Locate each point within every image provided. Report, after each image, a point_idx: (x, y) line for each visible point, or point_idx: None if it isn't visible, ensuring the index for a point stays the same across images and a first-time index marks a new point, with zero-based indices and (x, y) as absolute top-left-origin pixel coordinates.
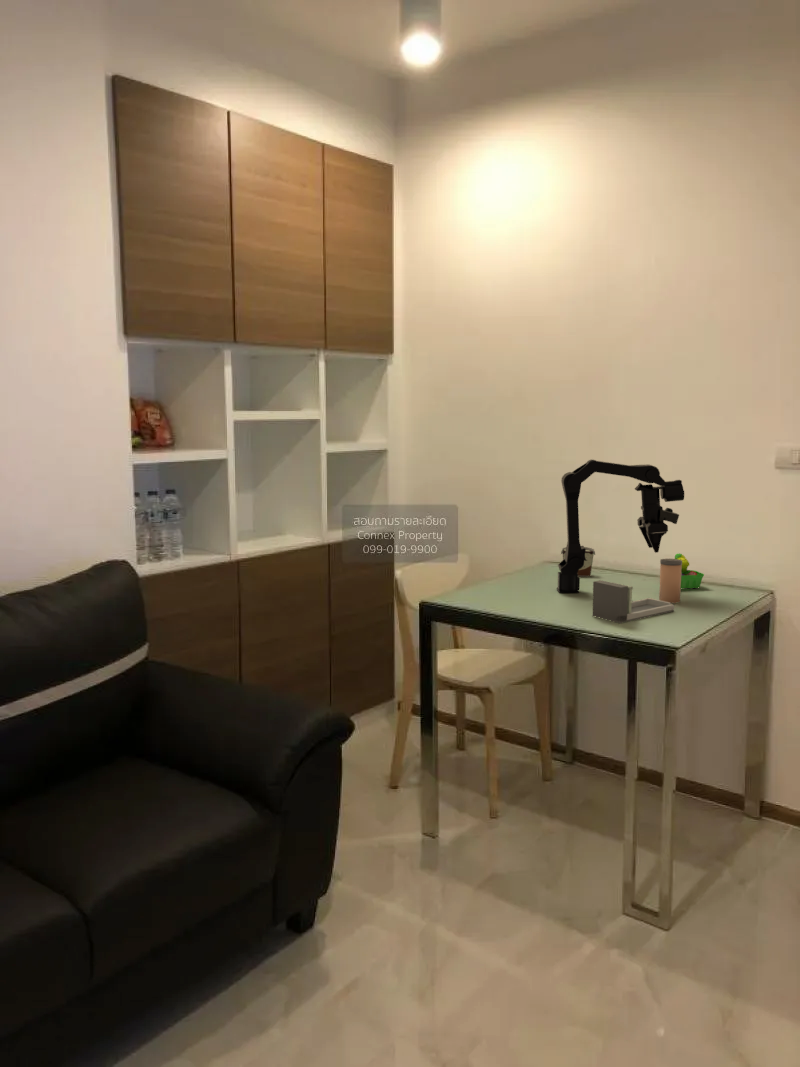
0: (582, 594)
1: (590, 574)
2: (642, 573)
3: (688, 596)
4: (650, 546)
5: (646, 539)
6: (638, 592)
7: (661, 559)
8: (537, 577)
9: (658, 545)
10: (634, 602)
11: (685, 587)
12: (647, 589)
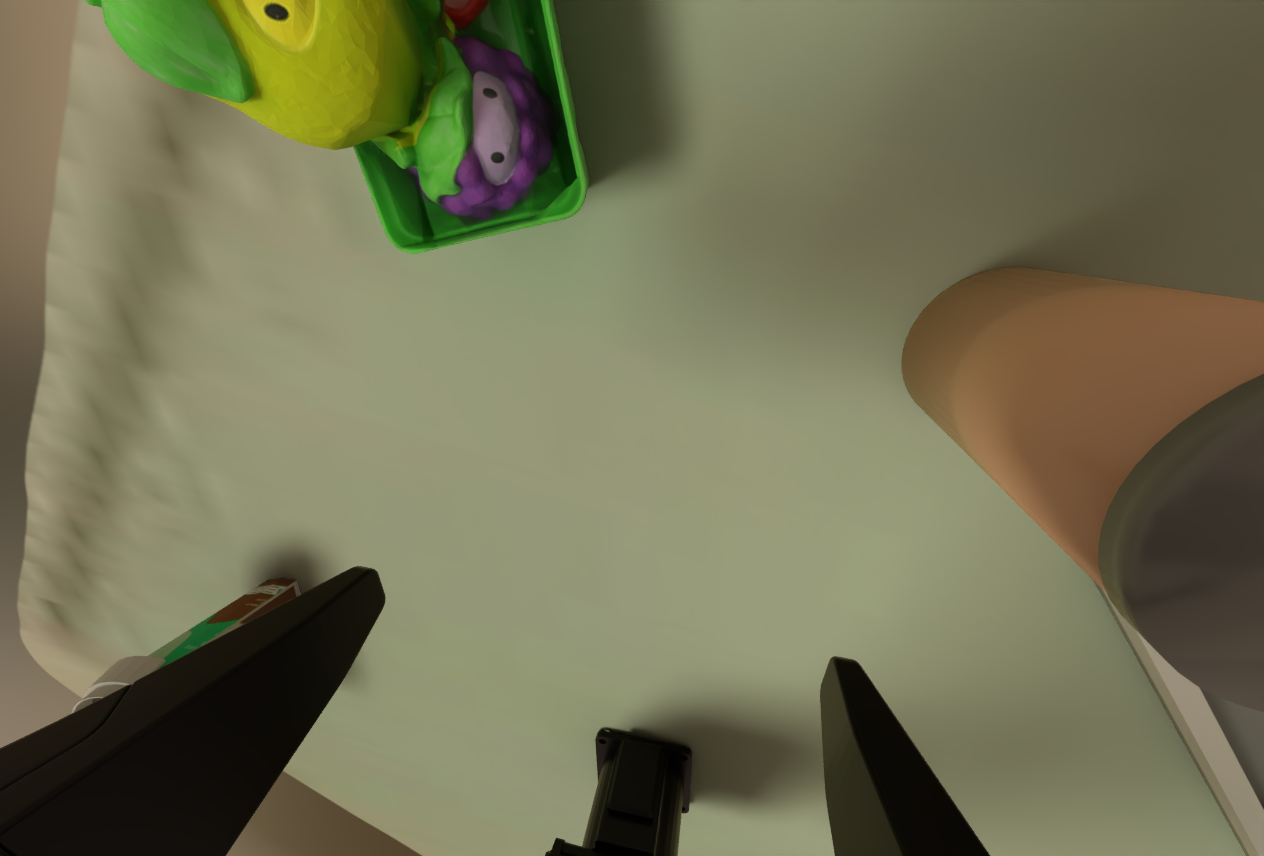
0: (716, 740)
1: (287, 587)
2: (110, 279)
3: (866, 130)
4: (368, 601)
5: (277, 761)
6: (682, 478)
7: (1199, 674)
8: (377, 762)
9: (951, 831)
10: (1196, 685)
11: (566, 72)
12: (590, 394)
